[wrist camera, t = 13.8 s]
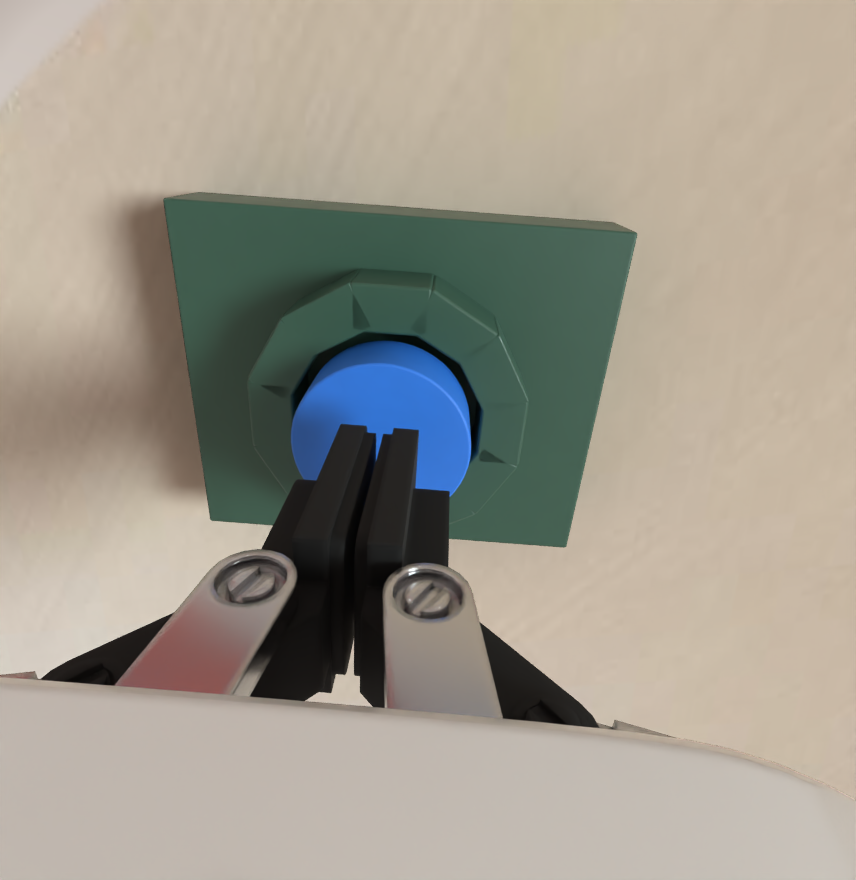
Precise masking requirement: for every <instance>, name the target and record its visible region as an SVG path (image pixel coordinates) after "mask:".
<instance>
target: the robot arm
mask: <svg viewBox="0 0 856 880" xmlns="http://www.w3.org/2000/svg"><path fill="white" fill-rule="evenodd" d="M418 439H419V430H414V429H402V428H394V429H393V433H392V434H383V437H382V440H381V444H380V448H379V452H378V456H377V460H376V433H368V431H367V426H363V425H350V424H341V425H340V427H339V429H338V431H337V434H336V436H335V438H334V441H333V443H332V445H331V448H330V450H329V452H328V455H327V457H326V459H325V462H324V464H323V466H322V469H321V471H320V473H319V476H318V478H317V480H304V479H297V480H296V481H295V482H294V484H293V486H292V488H291V490H290V492H289V494H288V496H287V498H286V500H285V502H284V504H283V506H282V508H281V511H280V513H279V515H278V517H277V519H276V521H275V523H274V525H273V527H272V529H271V531H270V533H269V535H268V537H267V539H266V541H265V543H264V545H263V547H262V549H261V550H260V549H257V550H249V551H243V552H240V553H236V554H233V555H230V556H229V557H227V558H225V559H223V560H221V561H219V562H218V563H217V564H216V565H215V566H214V567H213V568H212V569H210V570H209V572H208V573H207V574H206V575H205V576H204V578H203V579H202V580H201V581H200V583H199V584H198V585H197V586H196V587H195V589H194V590H193V591H192V592H191V593H190V595H189V596H188V597H187V598H186V599H185V601H184V602H183V603H182V604H181V605H180V607H179V608H178V609H177V610H176V612H174V613H172V614H170V615H168V616H166V617H164V618H161V619H159V620H157V621H155V622H153V623H150V624H148V625H146V626H144V627H142V628H139V629H137V630H135V631H133V632H131V633H128V634H126V635H124V636H122V637H120V638H117V639H115V640H113V641H111V642H109V643H106V644H104V645H102V646H100V647H98V648H95V649H93V650H91V651H89V652H87V653H84V654H82V655H80V656H78V657H76V658H73V659H71V660H69V661H67V662H65V663H64V664H62V665H60V666H58V667H56V668H55V669H53V670H51V671H50V672H49V673H47V674H46V675H45V676H44V677H43V678H41V679H38V678H37V675H36V673H35V671H34V672H24V673H15V674H6V675H0V880H856V800H855V799H853V798H852V797H850V796H848V795H846V794H844V793H842V792H841V791H839V790H837V789H835V788H833V787H831V786H829V785H827V784H825V783H823V782H821V781H818V780H816V779H813V778H811V777H809V776H806V775H804V774H801V773H799V772H797V771H794V770H792V769H789V768H787V767H785V766H782V765H780V764H777V763H775V762H771V761H768V760H765V759H762V758H759V757H755V756H752V755H749V754H746V753H743V752H739V751H736V750H733V749H729V748H725V747H720V746H715V745H711V744H706V743H701V742H697V741H692V740H687V739H680V738H675V737H672V736H668V735H665V734H661V733H658V732H655V731H651V730H648V729H644V728H641V727H637V726H634V725H631V724H627V723H624V722H620V721H617V720H614V723H613V726H612V727H610V726H606V725H603V724H599V723H596V721H595V719H594V717H593V716H592V715H591V714H590V713H589V712H588V711H587V710H586V709H585V708H584V707H583V706H582V705H581V704H580V703H579V702H578V701H577V700H575V699H574V698H573V697H572V696H571V695H569V694H568V693H567V692H566V691H564V690H563V689H562V688H561V687H559V686H558V685H557V684H556V683H554V682H553V681H552V680H551V679H550V678H548V677H547V676H546V675H545V674H543V673H542V672H541V671H540V670H538V669H537V668H536V667H535V666H533V665H532V664H531V663H530V662H528V661H527V660H526V659H525V658H524V657H522V656H521V655H520V654H519V653H517V652H516V651H515V650H514V649H512V648H511V647H510V646H509V645H507V644H506V643H505V642H504V641H502V640H501V639H500V638H499V637H498V636H496V635H495V634H494V633H493V632H491V631H490V630H489V629H488V628H486V627H485V626H484V625H483V624H481V623H480V622H479V618H478V613H477V609H476V605H475V601H474V597H473V593H472V590H471V588H470V586H469V584H468V582H467V581H466V580H465V579H464V578H463V577H462V576H461V575H460V574H459V573H458V572H456V571H454V570H452V569H451V568H449V567H448V551H449V503H450V492H449V491H443V490H430V489H418V488H415V487H416V471H417V455H418ZM353 640H354V675H355V676H360V693H361V694H362V695H363V696H364V697H365V698H366V699H367V701H368V702H369V703H370V704H371V705H372V706H373V707H366V706H354V705H343V704H331V703H319V702H307V701H305V700H307V699H308V698H310V697H311V696H313V695H315V694H316V693H318V692H326V693H331V692H332V688H333V683H334V679H335V675H336V674H343V675H345V674H346V672H347V668H348V663H349V659H350V654H351V649H352V644H353Z"/></svg>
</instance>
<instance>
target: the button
mask: <svg viewBox="0 0 856 880" xmlns="http://www.w3.org/2000/svg"><path fill="white" fill-rule="evenodd" d="M341 424H350V425H363V426H367V431H368V433H376V460H377V456H378V452H379V448H380V444H381V440H382V437H383V434H392V433H393V429H394V428H402V429H414V430H419V439H418V455H417V471H416V487H415V488H418V489H430V490H443V491H449V492H450V496H451V495H452V494H453V493H454V492H455V491H456V489H457V488H458V487H459V485H460V484H461V482H462V480H463V478H464V476H465V474H466V472H467V469H468V466H469V461H470V456H471V434H470V418H469V408H468V403H467V399H466V396H465V393H464V391H463V389H462V386H461V385H460V383H459V381H458V380H457V378H456V377H455V375H454V374H453V373H452V372H451V370H450V369H449V368H448V367H447V366H446V365H445V364H444V363H443V362H441V361H440V360H439V359H437V358H436V357H435V356H433V355H432V354H430V353H428V352H426V351H425V350H423V349H420V348H418V347H415V346H413V345H409V344H406V343H402V342H395V341H372V342H366V343H362V344H358V345H355V346H353V347H350V348H348V349H346V350H344V351H342V352H340V353H339V354H337V355H336V356H334V357H333V358H332V359H330V360H329V361H328V362H327V363H326V364H325V365H324V366H323V367H322V368H321V370H320V371H319V373H318V374H317V375H316V377H315V379H314V380H313V382H312V384H311V385H310V387H309V389H308V390H307V392H306V394H305V395H304V397H303V398H302V400H301V402H300V404H299V406H298V408H297V410H296V412H295V415H294V418H293V422H292V428H291V446H292V452H293V456H294V460H295V463H296V465H297V467H298V470H299V472H300V474H301V475H302V477H303V479H304V480H317V478H318V476H319V473H320V471H321V469H322V466H323V464H324V462H325V459H326V457H327V455H328V452H329V450H330V448H331V445H332V443H333V441H334V438H335V436H336V434H337V431H338V429H339V427H340V425H341Z"/></svg>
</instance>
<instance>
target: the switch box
mask: <svg viewBox="0 0 856 880" xmlns="http://www.w3.org/2000/svg"><path fill="white" fill-rule="evenodd" d="M164 208H165V215H166V222H167V228H168V235H169V242H170V249H171V256H172V262H173V269H174V276H175V283H176V290H177V296H178V303H179V310H180V317H181V323H182V330H183V337H184V344H185V351H186V357H187V364H188V371H189V378H190V384H191V391H192V398H193V405H194V412H195V418H196V425H197V432H198V439H199V446H200V452H201V459H202V466H203V473H204V479H205V486H206V493H207V500H208V507H209V513H210V519H211V520H212V521H223V522H236V523H250V524H263V525H274V523H275V521H276V519H277V517H278V515H279V513H280V511H281V508H282V506H283V504H284V502H285V500H286V498H287V496H288V494H289V492H290V490H291V488H292V486H293V484H294V482H295V481H296V480H297V479H303V477H302V475H301V474H300V472H299V470H298V467H297V465H296V463H295V460H294V456H293V452H292V446H291V428H292V422H293V418H294V415H295V412H296V410H297V408H298V406H299V404H300V402H301V400H302V398H303V397H304V395H305V394H306V392H307V390H308V389H309V387H310V385H311V384H312V382H313V380H314V379H315V377H316V375H317V374H318V373H319V371H320V370H321V368H322V367H323V366H324V365H325V364H326V363H327V362H328V361H329V360H330V359H332V358H333V357H334V356H336V355H337V354H339V353H340V352H342V351H344V350H346V349H348V348H350V347H353V346H355V345H358V344H362V343H366V342H372V341H395V342H402V343H406V344H409V345H413V346H415V347H418V348H420V349H423V350H425V351H426V352H428V353H430V354H432V355H433V356H435V357H436V358H437V359H439V360H440V361H441V362H443V363H444V364H445V365H446V366H447V367H448V368H449V369H450V370H451V372H452V373H453V374H454V375H455V377H456V378H457V380H458V381H459V383H460V385H461V386H462V389H463V391H464V393H465V396H466V399H467V403H468V408H469V418H470V434H471V456H470V461H469V466H468V469H467V472H466V474H465V476H464V478H463V480H462V482H461V484H460V485H459V487H458V488H457V489H456V491H455V492H454V493H453V494H452V495H451V496H450V503H449V539H460V540H473V541H486V542H499V543H513V544H526V545H539V546H552V547H566V545H567V541H568V536H569V532H570V528H571V523H572V519H573V514H574V510H575V506H576V501H577V497H578V492H579V488H580V484H581V479H582V475H583V470H584V466H585V462H586V457H587V453H588V449H589V444H590V440H591V435H592V431H593V427H594V422H595V418H596V413H597V409H598V405H599V400H600V396H601V391H602V387H603V383H604V378H605V374H606V369H607V365H608V361H609V356H610V352H611V348H612V343H613V339H614V334H615V330H616V326H617V321H618V317H619V312H620V308H621V304H622V299H623V295H624V290H625V286H626V282H627V277H628V273H629V269H630V264H631V260H632V255H633V251H634V247H635V242H636V238H637V233H636V232H634V231H632V230H629V229H627V228H625V227H623V226H620V225H618V224H616V223H614V222H600V221H586V220H573V219H559V218H545V217H532V216H518V215H504V214H490V213H477V212H463V211H449V210H435V209H422V208H408V207H394V206H380V205H367V204H353V203H339V202H325V201H312V200H298V199H284V198H270V197H257V196H243V195H229V194H216V193H202V192H198V193H192V194H186V195H180V196H174V197H168V198H164Z"/></svg>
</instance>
